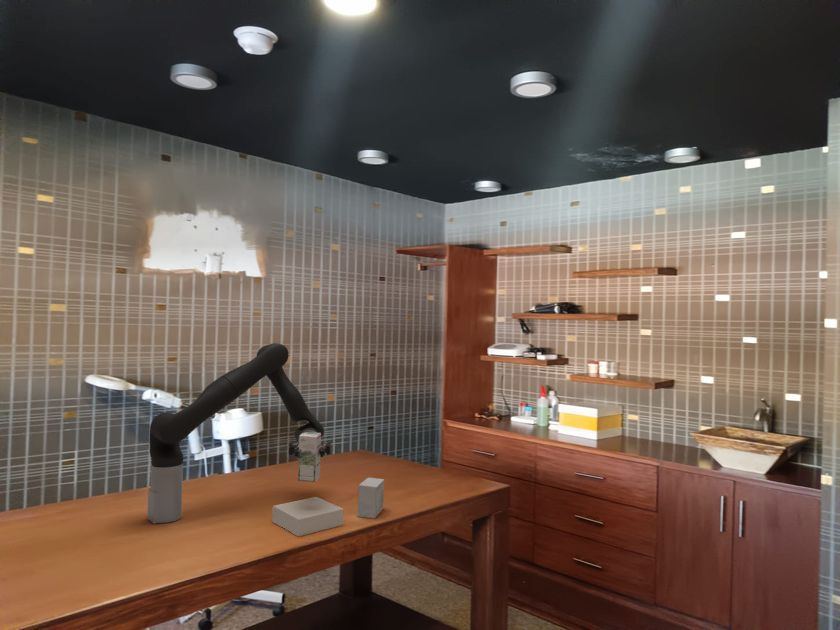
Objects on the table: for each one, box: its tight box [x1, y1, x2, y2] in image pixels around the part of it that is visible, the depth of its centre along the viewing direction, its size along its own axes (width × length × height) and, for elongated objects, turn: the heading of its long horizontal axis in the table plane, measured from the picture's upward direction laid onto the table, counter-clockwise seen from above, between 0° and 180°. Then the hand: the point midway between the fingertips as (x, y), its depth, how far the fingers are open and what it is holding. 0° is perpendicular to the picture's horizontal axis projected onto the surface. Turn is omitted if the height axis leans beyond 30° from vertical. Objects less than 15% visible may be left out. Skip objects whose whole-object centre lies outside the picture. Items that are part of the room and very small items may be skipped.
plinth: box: [271, 496, 344, 537], centre depth 180 cm, size 16×16×5 cm
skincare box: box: [356, 477, 385, 519], centre depth 192 cm, size 10×6×10 cm, turn 168°
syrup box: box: [297, 432, 322, 483], centre depth 181 cm, size 6×6×14 cm
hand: (309, 454), depth 178 cm, fingers closed on syrup box, 7 cm apart
